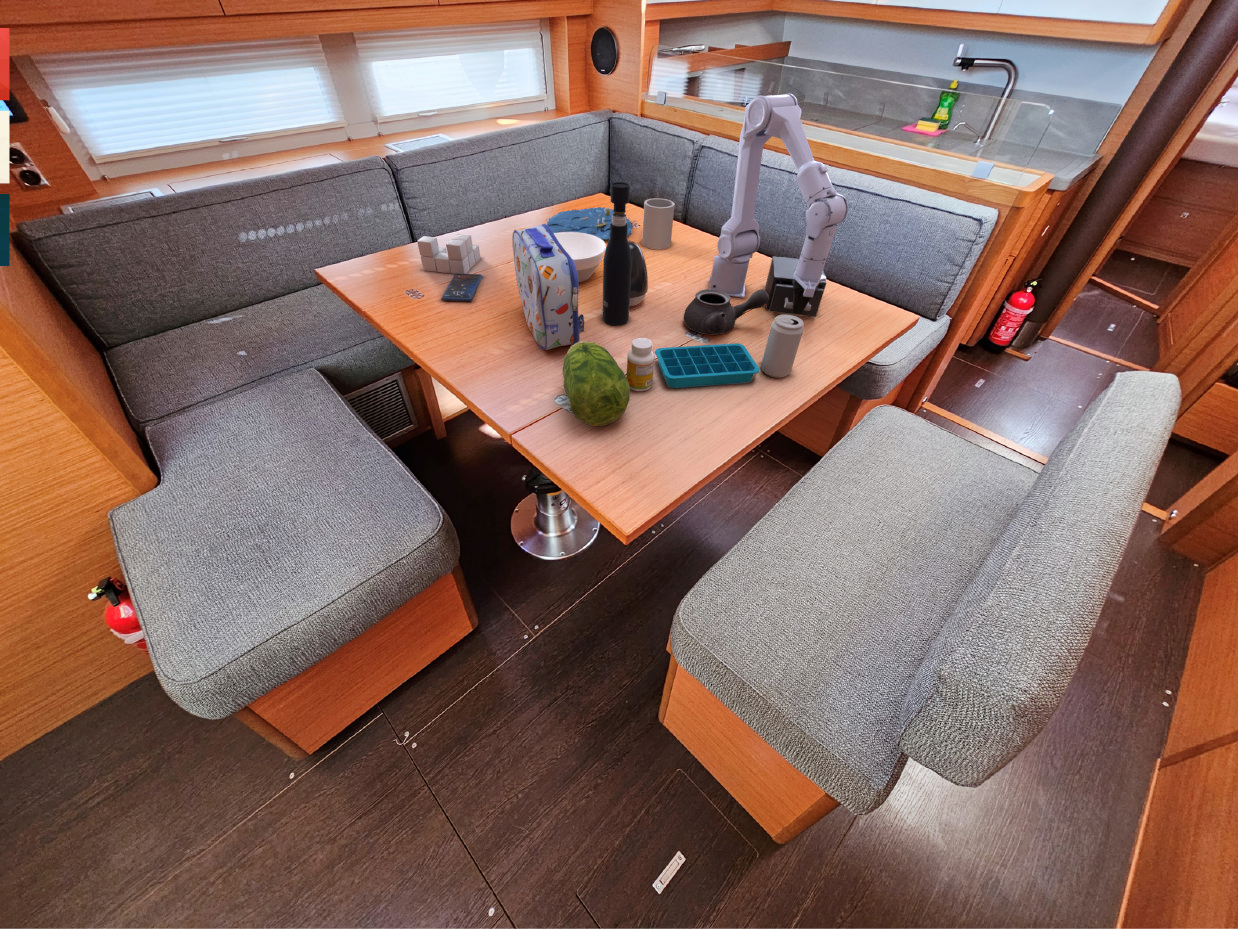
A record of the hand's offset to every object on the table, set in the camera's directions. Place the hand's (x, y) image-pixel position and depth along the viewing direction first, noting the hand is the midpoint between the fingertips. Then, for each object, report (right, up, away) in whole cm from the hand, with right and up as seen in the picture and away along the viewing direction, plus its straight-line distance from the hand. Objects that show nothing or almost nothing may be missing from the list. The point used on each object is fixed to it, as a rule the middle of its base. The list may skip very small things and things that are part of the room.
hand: (796, 312), depth 123 cm
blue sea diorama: (-52, +42, +47) cm, 82 cm away
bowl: (-56, +16, +20) cm, 62 cm away
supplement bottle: (-39, -20, -17) cm, 47 cm away
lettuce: (-48, -24, -22) cm, 58 cm away
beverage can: (-9, -17, -12) cm, 22 cm away
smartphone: (-84, +9, +11) cm, 85 cm away
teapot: (-18, -4, +1) cm, 18 cm away
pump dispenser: (-41, +5, +9) cm, 42 cm away
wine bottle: (-44, -1, +2) cm, 44 cm away
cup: (-31, +33, +39) cm, 60 cm away
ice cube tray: (-24, -17, -13) cm, 32 cm away
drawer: (+2, +4, +9) cm, 10 cm away
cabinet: (+3, +7, +13) cm, 15 cm away
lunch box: (-59, -5, -3) cm, 59 cm away
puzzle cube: (-90, +20, +22) cm, 95 cm away
